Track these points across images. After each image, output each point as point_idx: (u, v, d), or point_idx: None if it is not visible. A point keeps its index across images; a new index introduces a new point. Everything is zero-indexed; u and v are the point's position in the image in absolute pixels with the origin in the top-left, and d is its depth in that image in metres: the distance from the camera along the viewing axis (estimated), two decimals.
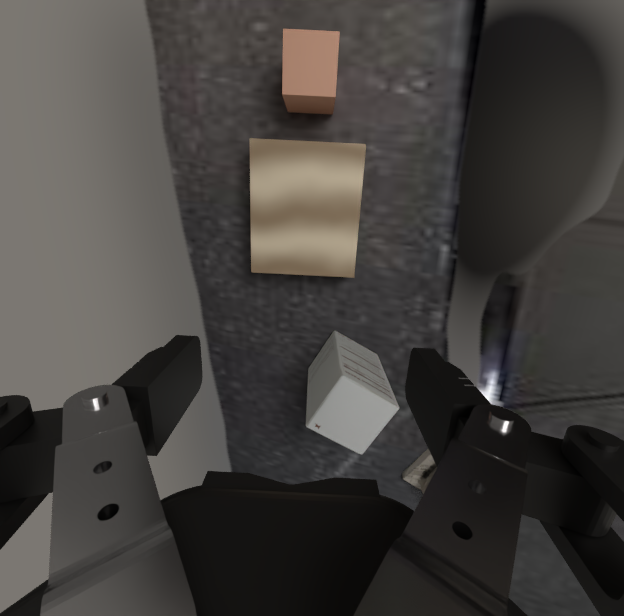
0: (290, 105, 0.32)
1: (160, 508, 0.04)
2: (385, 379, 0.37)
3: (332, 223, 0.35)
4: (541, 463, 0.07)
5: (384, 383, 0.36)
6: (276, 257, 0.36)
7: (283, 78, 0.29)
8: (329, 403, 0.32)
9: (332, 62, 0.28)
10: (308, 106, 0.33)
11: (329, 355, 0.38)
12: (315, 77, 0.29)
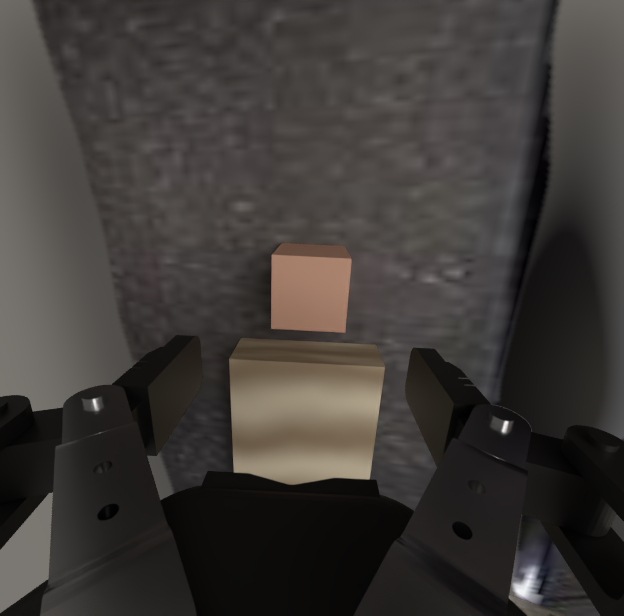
0: None
1: (160, 508, 0.04)
2: None
3: (339, 448, 0.27)
4: (541, 463, 0.07)
5: None
6: None
7: (273, 311, 0.21)
8: None
9: (341, 294, 0.20)
10: None
11: None
12: (317, 310, 0.21)
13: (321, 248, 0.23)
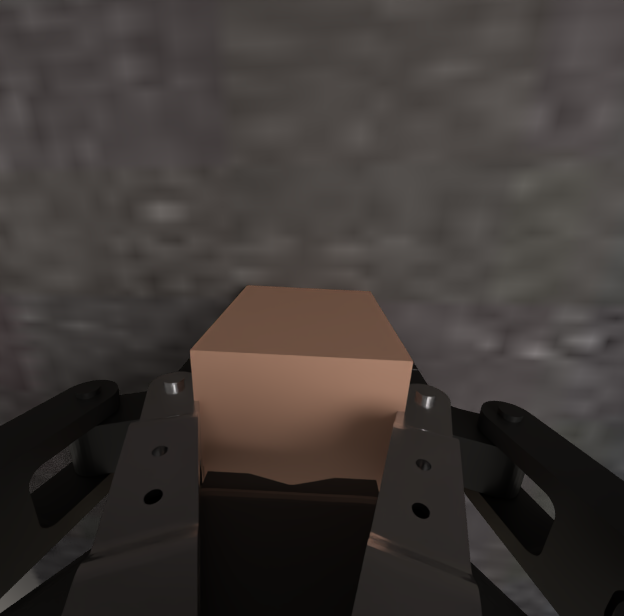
0: None
1: (196, 506, 0.04)
2: None
3: None
4: (456, 433, 0.08)
5: None
6: None
7: None
8: None
9: (380, 444, 0.08)
10: None
11: None
12: (318, 480, 0.08)
13: (326, 304, 0.11)
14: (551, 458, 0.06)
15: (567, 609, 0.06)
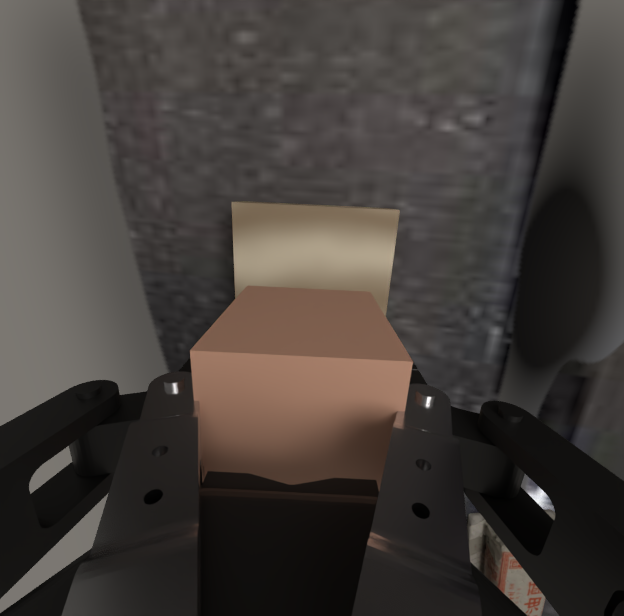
0: None
1: (197, 505, 0.04)
2: None
3: None
4: (456, 433, 0.08)
5: None
6: None
7: None
8: None
9: (380, 444, 0.08)
10: None
11: None
12: (318, 480, 0.08)
13: (325, 304, 0.11)
14: (551, 458, 0.06)
15: (567, 609, 0.06)
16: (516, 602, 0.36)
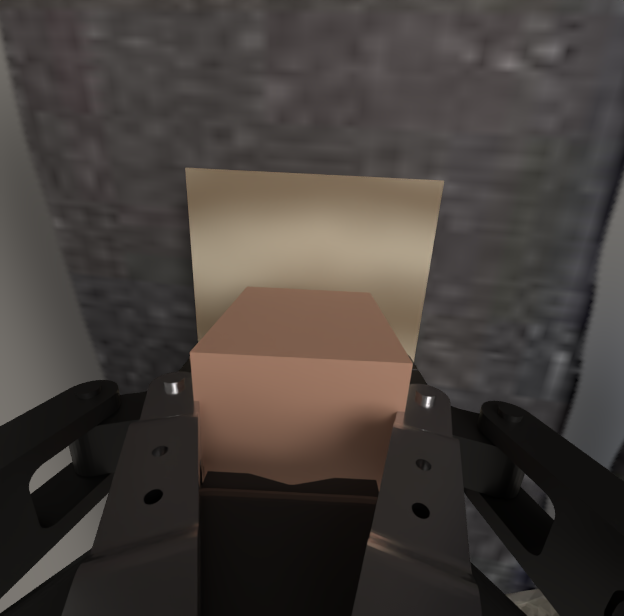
0: None
1: (196, 506, 0.04)
2: None
3: None
4: (456, 433, 0.08)
5: None
6: None
7: None
8: None
9: (380, 446, 0.08)
10: None
11: None
12: None
13: (325, 305, 0.11)
14: (551, 458, 0.06)
15: (567, 609, 0.06)
16: None
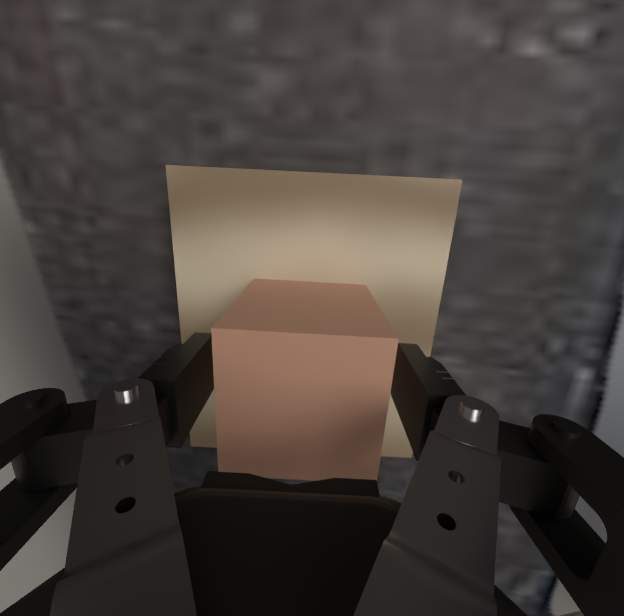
0: None
1: (174, 506, 0.04)
2: None
3: None
4: (507, 450, 0.07)
5: None
6: None
7: (221, 443, 0.10)
8: None
9: (371, 411, 0.09)
10: None
11: None
12: (318, 443, 0.09)
13: (325, 294, 0.12)
14: (607, 479, 0.06)
15: None
16: None
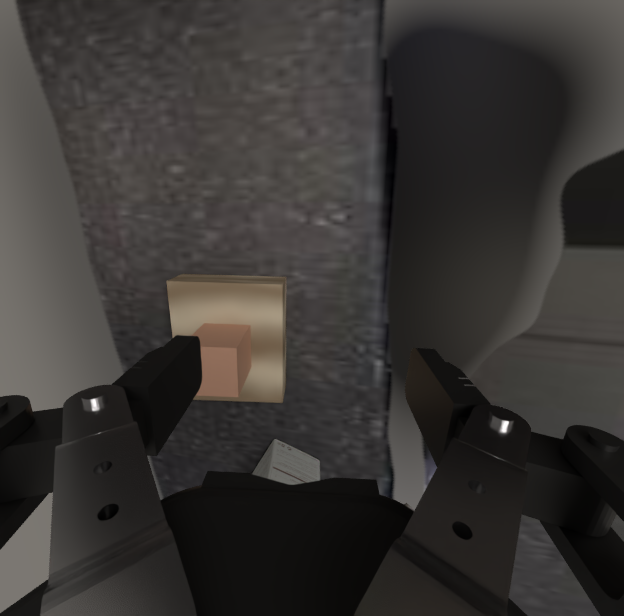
0: None
1: (160, 508, 0.04)
2: None
3: (256, 354, 0.35)
4: (541, 463, 0.07)
5: None
6: None
7: None
8: None
9: (232, 371, 0.28)
10: None
11: (262, 476, 0.38)
12: (217, 382, 0.29)
13: (228, 331, 0.32)
14: None
15: None
16: None
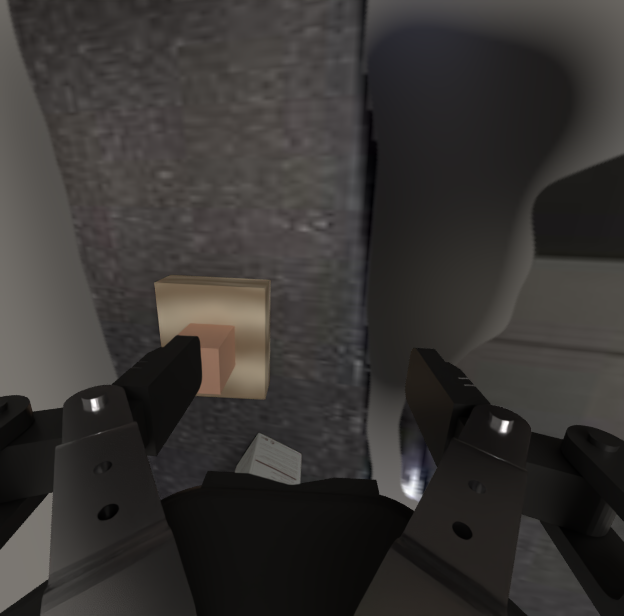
0: None
1: (160, 508, 0.04)
2: None
3: (240, 353, 0.36)
4: (541, 463, 0.07)
5: None
6: None
7: None
8: None
9: (214, 370, 0.30)
10: None
11: (245, 468, 0.40)
12: None
13: (212, 331, 0.33)
14: None
15: None
16: None
